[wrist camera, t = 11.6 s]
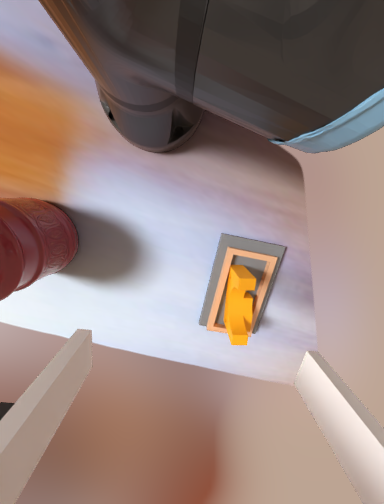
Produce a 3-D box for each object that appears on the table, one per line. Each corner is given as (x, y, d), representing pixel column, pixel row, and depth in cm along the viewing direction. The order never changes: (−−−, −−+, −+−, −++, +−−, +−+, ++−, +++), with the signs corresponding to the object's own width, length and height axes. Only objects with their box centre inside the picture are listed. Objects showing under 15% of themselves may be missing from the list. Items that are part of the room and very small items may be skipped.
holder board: (221, 233, 32) (223, 235, 30) (282, 245, 33) (289, 248, 31) (198, 321, 37) (199, 329, 35) (253, 330, 38) (257, 338, 36)
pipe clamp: (244, 320, 36) (257, 345, 30) (223, 320, 36) (231, 344, 30) (252, 265, 33) (267, 279, 27) (229, 264, 33) (239, 278, 26)
